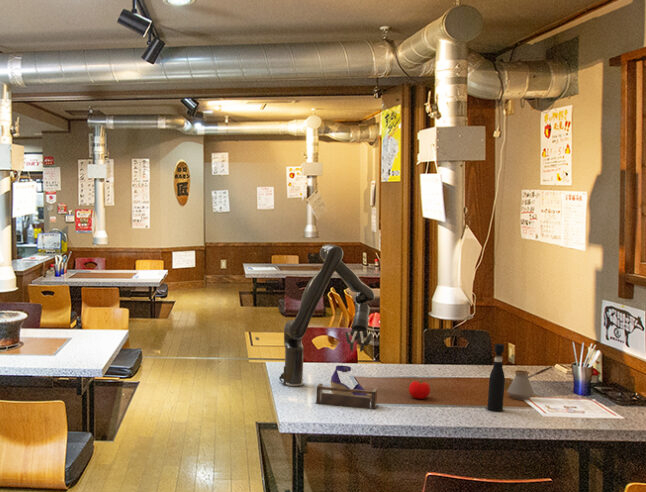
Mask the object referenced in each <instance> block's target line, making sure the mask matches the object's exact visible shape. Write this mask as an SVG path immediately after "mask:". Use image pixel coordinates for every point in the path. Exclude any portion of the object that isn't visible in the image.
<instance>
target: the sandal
mask: <svg viewBox="0 0 646 492" xmlns="http://www.w3.org/2000/svg"><path fill="white" fill-rule="evenodd" d="M351 371H352V367H351V366H348V365H340V364H339V365H336V366H335V370H334V371H333V374H332V375H331V378H330V387H332V388H344V389H351V388H350V387H349V386H348V385H346V384H345V383H343V382H342V381H341V379H340V376H339V373H338V372H342V373H348V372H351ZM352 389H355V390H366V389H365V388H363V386H361V384H360V383H356V385H355V386H354V387H353V388H352ZM331 394H341V395H352V396H363V397H370V398H372V394H365V393H353V392H342V391H331Z"/></svg>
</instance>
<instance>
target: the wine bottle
mask: <svg viewBox="0 0 646 492" xmlns="http://www.w3.org/2000/svg"><path fill="white" fill-rule="evenodd" d="M493 351H494V352H495V357H494V361H493V365H492V366H493V367H492V369H491V371H490V374H489V380H488V394H487V406H486V409H487V410H488V411H490V412H496V413H498V412H499V413H500V412H503V411H504V399H505V396H504V395H505V382H506V377H505V372H504V368H503V366H504V364H503V363H504V361H503V353H504V352H505V344H503V343H495V344H494V350H493Z"/></svg>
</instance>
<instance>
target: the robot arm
mask: <svg viewBox="0 0 646 492" xmlns="http://www.w3.org/2000/svg"><path fill="white" fill-rule="evenodd" d="M319 256H320V258H321V260H322V261H323V263H322V266H321V268H320V269H319V270H318V271H317V273H316V274H315V275H313V277H311V278H310V280H309V281H308V283H307V285H306V286H305V288H304V291H302V292H303V293H302V296H301V300H300V304H299V309H298V311H297V314H296V316H295V318H294V319H289V320H288V321H287V322H286V323H285V324H284V328H283V345H284V349H285V350H284V366H283V372H282V373H281V374H280V376H279V378H278V379H279V381H280V382H282V384H283V386H288V387H302V386H303V385H304V345H303V337H304V336H305V335H306V333H307V331H308V327H309V324H310V322H311V319H312V318H313V315H314V313H315V312H316V309H317V307H318V305H319V303H320V301H321V299H322V298H323V295H324V293H325V291H326V290H327V287H328V285H329V282H330V281H331V279H332V277H333V275H334V273H336V274H337V275H338V276H339V278H340V279H341V281H343V282H344V284H345V285H346V287H347V288H348V289H349V290H350V291H351V293H355V294H354V296H353V300H354V307H355V309H354V310H355V311H354V315H353V320H352V328H351V330H350V331H349V332H347V331H345V332H344V334H345V335H344V336H345V339H346V342H347V344H348V345H349V350H350V351H351V352H354V344H355V342H356V341H360V347H359V352H361V353H362V352H363V351H364V348H365V346H368V345H369V344H370V342H371V340H372V339H373V333H368V328H369V321H370V310H371V307H370V306H369V305H368V304H369V303H372V302H374V301H375V299H376V294H375V292H374V290H373V289H372V288H371V287H369V286H368V285H366V283H364V282H363V281H362V280H361V279H360V278H359V276H358V275H357V274H356V273H355V272H354V271H353V270H352V269H351V268H350V267H349V266H348V265H347V264H346V263H344V261H342V260H343V257H344V250H343V248H342V247H341V246H338V245H335V244H331V243H327V244H326V243H325V244H323V245H322V247H321V248H320V249H319ZM350 336H351V340H350ZM365 338H366V339H365Z"/></svg>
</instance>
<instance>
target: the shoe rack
mask: <svg viewBox="0 0 646 492" xmlns="http://www.w3.org/2000/svg"><path fill="white" fill-rule="evenodd" d="M323 385H324V384H323V383H319V384H318V385H317V386H316V397H315V398H316V399H315V404H317V405H327V406H328V405H329V406H339V407H349V408H360V409H371V410H375V409H376V407H377V401H378V400H377V399H378V388H376V387H373V389H372V390H366V389H365V390H355V389H353V388H350V389H344V388H332V387H331V386H323ZM323 391H330V392H332V391H342V392H353V393H365V394H372V397H363V396H352V395H341V394H332V393H328V392H323Z"/></svg>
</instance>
